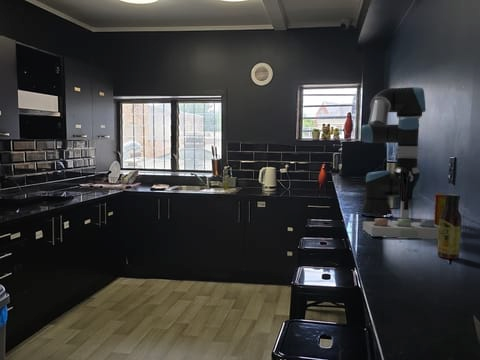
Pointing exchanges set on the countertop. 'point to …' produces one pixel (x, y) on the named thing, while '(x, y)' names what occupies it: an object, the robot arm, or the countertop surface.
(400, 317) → the countertop surface
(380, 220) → the terracotta button
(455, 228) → the sauce bottle
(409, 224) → the sage button
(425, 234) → the button console
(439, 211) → the baking soda box
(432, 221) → the slate button
